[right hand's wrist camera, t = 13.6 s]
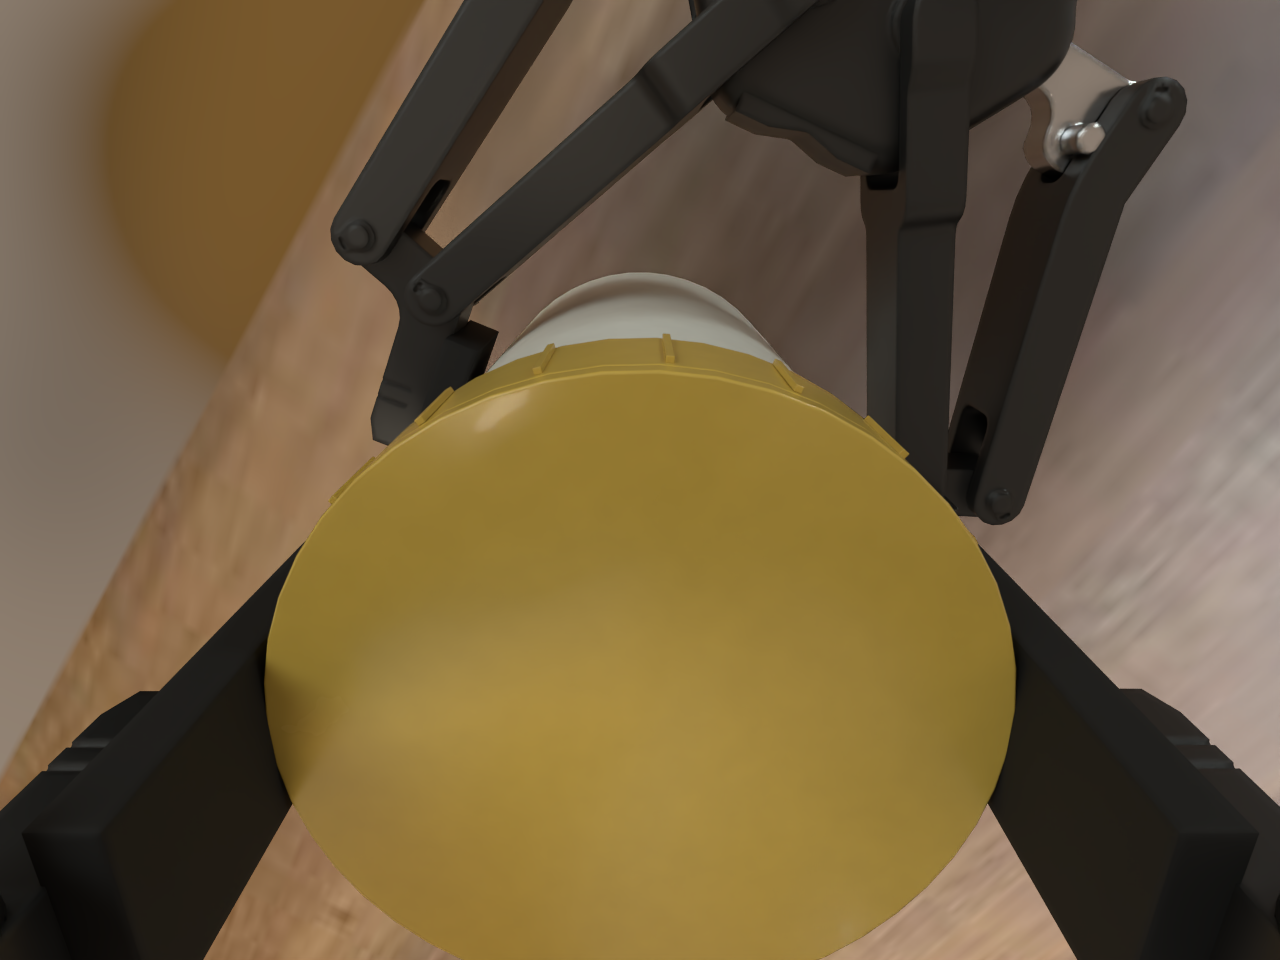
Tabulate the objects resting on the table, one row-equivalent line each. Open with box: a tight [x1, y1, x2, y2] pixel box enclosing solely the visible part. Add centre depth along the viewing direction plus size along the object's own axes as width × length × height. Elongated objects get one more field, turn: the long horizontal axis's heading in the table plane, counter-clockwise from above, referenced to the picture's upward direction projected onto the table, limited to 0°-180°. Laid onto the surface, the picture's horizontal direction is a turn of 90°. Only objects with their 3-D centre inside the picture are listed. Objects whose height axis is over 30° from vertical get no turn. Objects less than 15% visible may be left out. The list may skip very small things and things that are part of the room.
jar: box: [486, 272, 793, 373], centre depth 18 cm, size 10×10×16 cm
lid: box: [264, 334, 1016, 960], centre depth 12 cm, size 10×10×2 cm
